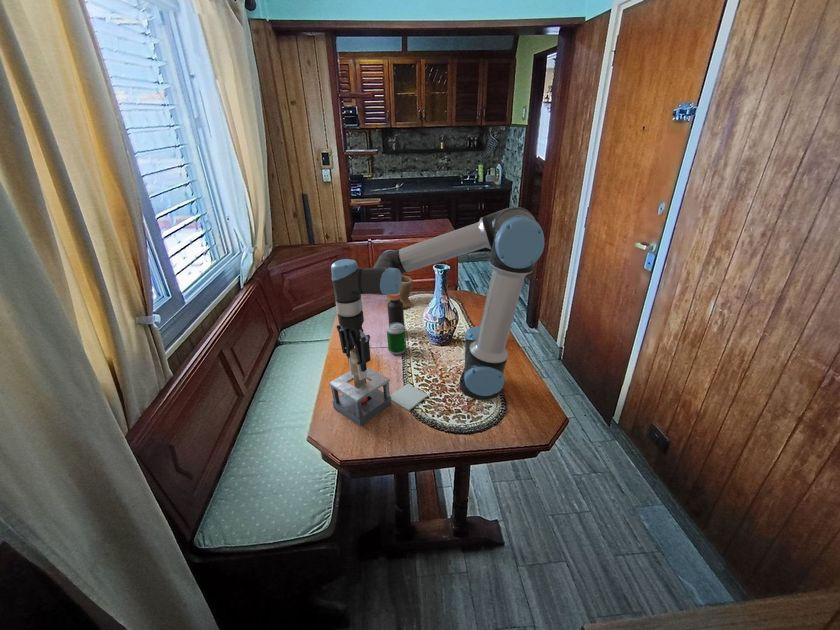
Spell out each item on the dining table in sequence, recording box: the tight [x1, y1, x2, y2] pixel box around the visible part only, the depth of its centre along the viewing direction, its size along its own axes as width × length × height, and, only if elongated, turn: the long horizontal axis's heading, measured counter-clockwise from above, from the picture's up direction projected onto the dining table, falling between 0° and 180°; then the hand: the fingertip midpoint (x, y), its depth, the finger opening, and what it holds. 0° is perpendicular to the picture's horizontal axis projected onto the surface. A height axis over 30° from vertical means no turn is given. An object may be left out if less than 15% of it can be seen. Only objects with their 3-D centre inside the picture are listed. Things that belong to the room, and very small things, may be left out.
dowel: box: [350, 347, 366, 389], centre depth 125 cm, size 4×4×16 cm
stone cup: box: [385, 274, 414, 309], centre depth 199 cm, size 15×12×15 cm
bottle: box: [387, 292, 405, 326], centre depth 169 cm, size 7×7×20 cm
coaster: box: [390, 383, 429, 412], centre depth 134 cm, size 10×10×1 cm
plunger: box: [361, 396, 368, 405], centre depth 130 cm, size 4×4×5 cm
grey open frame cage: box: [328, 365, 393, 427], centre depth 129 cm, size 14×14×10 cm
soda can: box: [386, 323, 407, 356], centre depth 159 cm, size 8×8×12 cm
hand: (358, 375), depth 126 cm, fingers closed on dowel, 3 cm apart
